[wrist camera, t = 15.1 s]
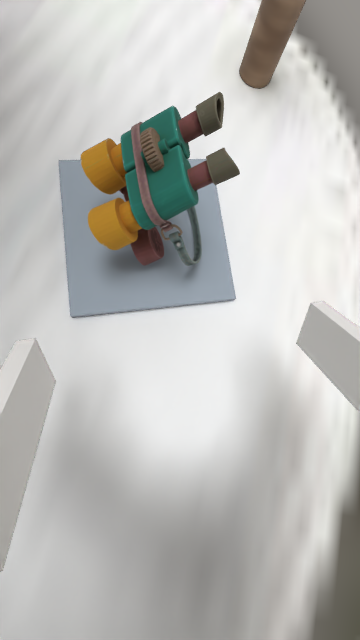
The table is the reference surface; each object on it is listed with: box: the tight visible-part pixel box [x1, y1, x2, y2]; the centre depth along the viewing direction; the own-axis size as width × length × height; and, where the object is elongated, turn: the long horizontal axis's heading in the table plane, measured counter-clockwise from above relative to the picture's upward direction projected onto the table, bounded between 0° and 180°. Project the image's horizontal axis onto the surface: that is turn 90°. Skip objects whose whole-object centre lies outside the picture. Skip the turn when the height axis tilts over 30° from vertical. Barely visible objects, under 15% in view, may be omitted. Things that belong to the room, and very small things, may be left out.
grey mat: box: [59, 159, 236, 317], centre depth 21 cm, size 14×14×1 cm
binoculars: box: [81, 92, 240, 266], centre depth 17 cm, size 9×9×10 cm
